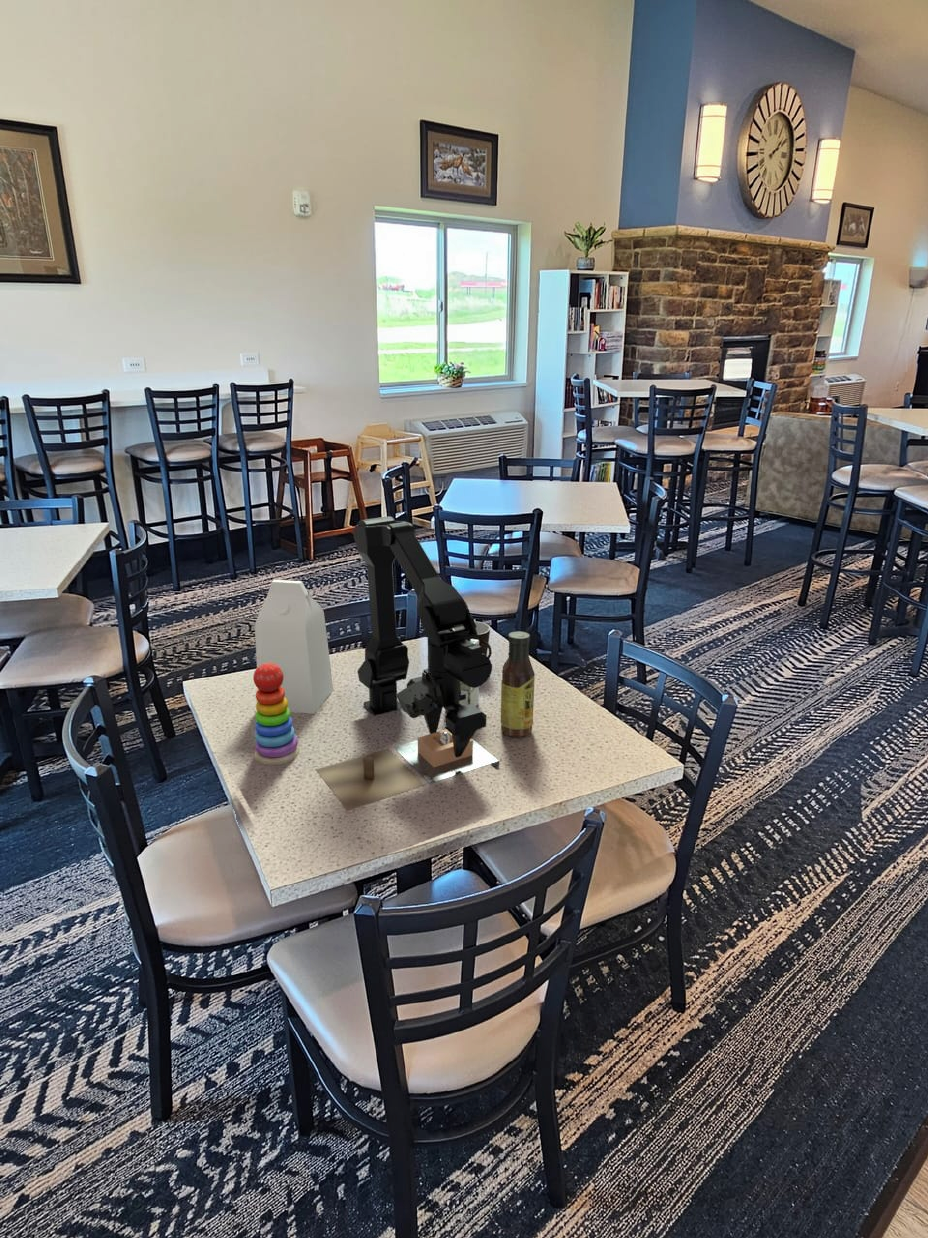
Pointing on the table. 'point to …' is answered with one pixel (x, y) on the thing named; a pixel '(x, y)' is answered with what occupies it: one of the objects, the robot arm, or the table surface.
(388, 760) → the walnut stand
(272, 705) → the stacking toy
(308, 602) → the milk
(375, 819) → the table surface
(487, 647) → the coffee mug
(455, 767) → the hub base
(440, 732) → the square tube wooden block
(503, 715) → the sauce bottle
